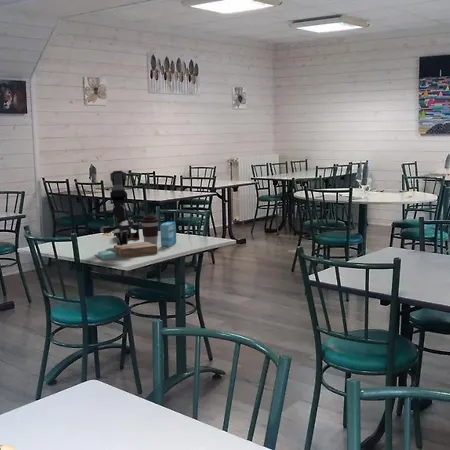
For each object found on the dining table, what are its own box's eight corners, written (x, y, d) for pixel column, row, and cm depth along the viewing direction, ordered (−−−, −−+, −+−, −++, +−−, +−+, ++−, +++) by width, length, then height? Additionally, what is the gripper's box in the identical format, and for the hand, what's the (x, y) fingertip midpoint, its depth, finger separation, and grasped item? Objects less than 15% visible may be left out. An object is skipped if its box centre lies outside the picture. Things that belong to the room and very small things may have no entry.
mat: (94, 255, 302) (94, 254, 302) (113, 253, 307) (113, 252, 307) (104, 260, 288) (104, 260, 288) (124, 258, 293) (124, 257, 293)
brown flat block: (114, 253, 306) (113, 245, 306) (147, 249, 315) (146, 241, 314) (123, 257, 294) (122, 249, 293) (157, 253, 303) (157, 245, 302)
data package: (168, 247, 318) (167, 224, 317) (160, 247, 320) (159, 224, 318) (176, 243, 330) (175, 221, 328) (168, 243, 331) (167, 221, 329)
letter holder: (122, 241, 343) (120, 216, 341) (120, 235, 362) (119, 212, 360) (139, 239, 345) (138, 215, 343) (137, 234, 364) (136, 211, 362)
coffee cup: (157, 241, 338) (156, 214, 335) (161, 244, 328) (160, 216, 326) (140, 242, 335) (138, 215, 332) (143, 245, 325) (142, 218, 323)
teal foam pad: (109, 250, 302) (109, 254, 302) (97, 252, 299) (98, 255, 299) (115, 253, 294) (115, 257, 294) (103, 254, 291) (104, 258, 291)
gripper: (106, 217, 286) (108, 250, 289) (143, 214, 295) (144, 245, 298) (99, 215, 296) (101, 246, 299) (135, 212, 305) (136, 242, 307)
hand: (121, 245), depth 300 cm, fingers closed
